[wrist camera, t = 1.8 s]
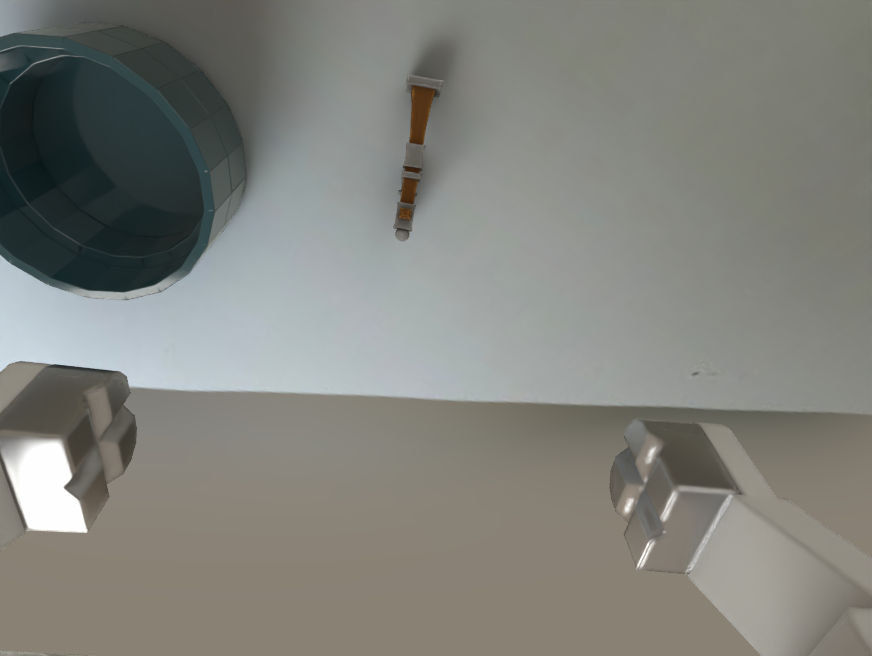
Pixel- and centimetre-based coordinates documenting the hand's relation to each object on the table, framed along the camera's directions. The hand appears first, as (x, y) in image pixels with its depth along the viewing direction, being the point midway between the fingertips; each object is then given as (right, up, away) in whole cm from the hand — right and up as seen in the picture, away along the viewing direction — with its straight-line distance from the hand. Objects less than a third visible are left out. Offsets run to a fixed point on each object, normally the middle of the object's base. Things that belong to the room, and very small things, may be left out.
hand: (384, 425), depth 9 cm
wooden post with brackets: (0, +11, +22) cm, 25 cm away
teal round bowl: (-16, +11, +22) cm, 29 cm away
